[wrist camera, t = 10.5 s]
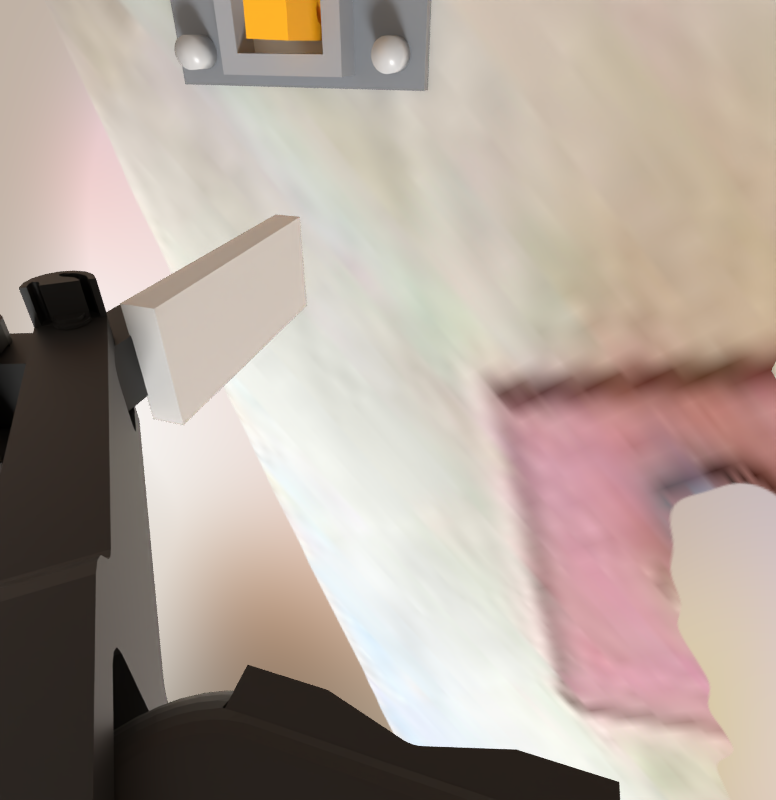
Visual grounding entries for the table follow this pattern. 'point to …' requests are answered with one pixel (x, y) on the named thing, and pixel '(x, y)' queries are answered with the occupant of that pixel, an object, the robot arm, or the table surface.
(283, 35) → the orange bracket
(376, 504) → the table surface
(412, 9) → the chassis
